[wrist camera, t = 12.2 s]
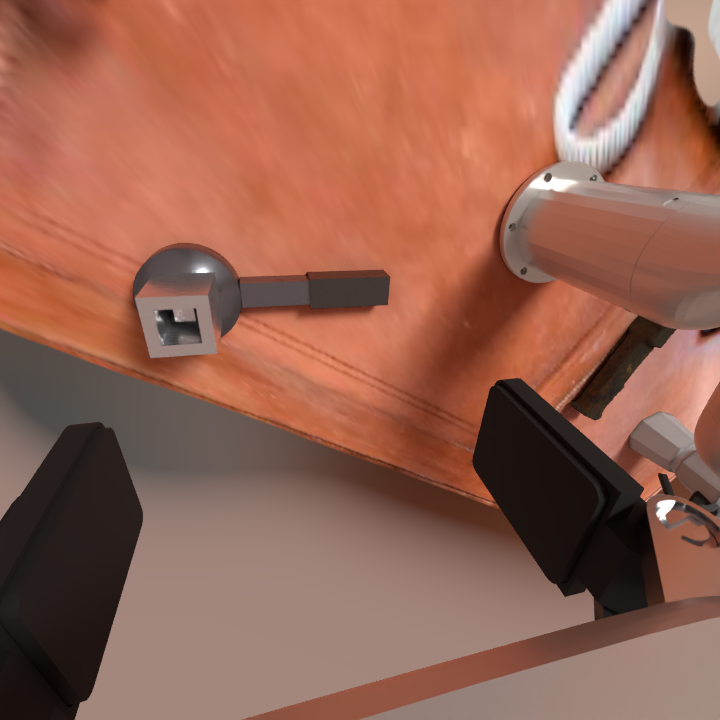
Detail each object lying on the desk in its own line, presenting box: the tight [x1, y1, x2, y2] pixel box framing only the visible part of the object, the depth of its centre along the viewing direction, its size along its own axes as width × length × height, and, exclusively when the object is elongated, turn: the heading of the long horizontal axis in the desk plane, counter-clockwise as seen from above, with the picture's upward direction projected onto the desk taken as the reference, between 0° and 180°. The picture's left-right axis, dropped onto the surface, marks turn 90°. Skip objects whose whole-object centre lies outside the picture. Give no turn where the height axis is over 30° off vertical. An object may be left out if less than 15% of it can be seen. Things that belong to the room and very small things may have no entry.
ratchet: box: [133, 243, 390, 337], centre depth 36 cm, size 24×9×6 cm, turn 87°
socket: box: [135, 272, 223, 358], centre depth 32 cm, size 5×5×6 cm
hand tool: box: [571, 316, 677, 420], centre depth 53 cm, size 19×4×5 cm, turn 153°
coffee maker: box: [629, 412, 720, 517], centre depth 58 cm, size 15×9×18 cm, turn 113°
